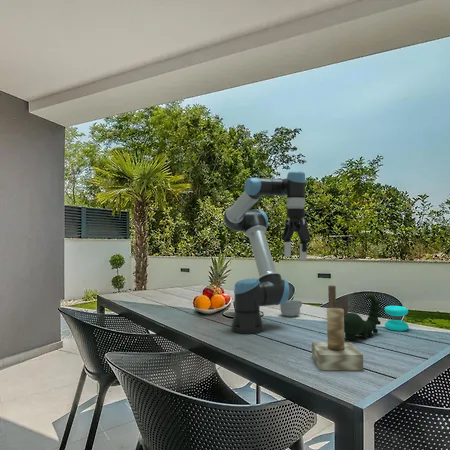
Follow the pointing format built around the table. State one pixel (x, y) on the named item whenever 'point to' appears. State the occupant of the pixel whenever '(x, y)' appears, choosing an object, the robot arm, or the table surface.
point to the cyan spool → (396, 324)
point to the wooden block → (341, 303)
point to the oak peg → (335, 329)
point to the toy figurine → (362, 321)
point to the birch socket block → (337, 357)
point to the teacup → (291, 308)
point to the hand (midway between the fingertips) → (295, 258)
